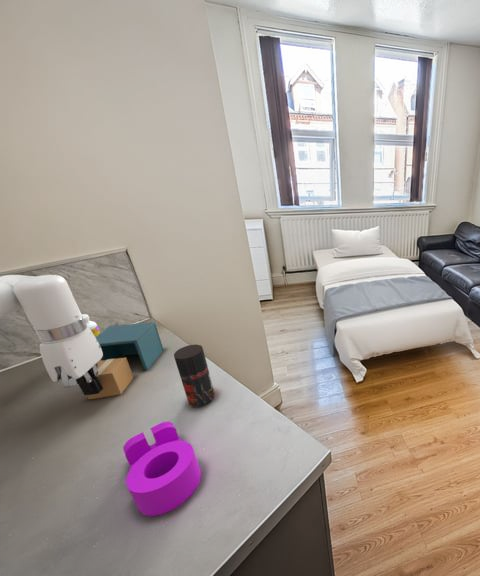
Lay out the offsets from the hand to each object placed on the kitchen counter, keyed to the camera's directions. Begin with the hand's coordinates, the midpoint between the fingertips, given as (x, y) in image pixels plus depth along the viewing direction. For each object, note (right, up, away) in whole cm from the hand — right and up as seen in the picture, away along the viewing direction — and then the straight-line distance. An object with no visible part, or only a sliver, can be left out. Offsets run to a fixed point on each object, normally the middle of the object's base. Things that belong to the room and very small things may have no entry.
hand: (94, 392), depth 72 cm
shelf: (-5, +3, +17) cm, 18 cm away
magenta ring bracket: (+30, -11, -15) cm, 35 cm away
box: (-2, -1, +7) cm, 7 cm away
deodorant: (+25, -3, +4) cm, 25 cm away
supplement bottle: (-22, +5, +21) cm, 31 cm away
